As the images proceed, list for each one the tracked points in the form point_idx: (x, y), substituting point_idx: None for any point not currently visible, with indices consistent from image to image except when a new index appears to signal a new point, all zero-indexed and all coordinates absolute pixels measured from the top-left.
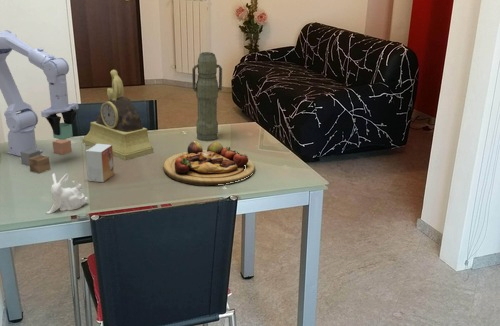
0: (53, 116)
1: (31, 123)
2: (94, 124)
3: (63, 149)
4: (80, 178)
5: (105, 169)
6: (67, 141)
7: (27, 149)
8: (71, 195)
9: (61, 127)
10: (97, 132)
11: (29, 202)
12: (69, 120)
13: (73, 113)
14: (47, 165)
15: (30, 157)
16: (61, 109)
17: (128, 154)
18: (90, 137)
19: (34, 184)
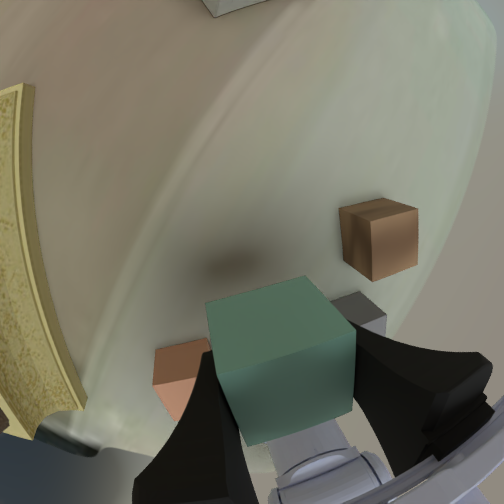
0: (468, 409)
1: (308, 488)
2: (17, 416)
3: (198, 354)
4: (310, 28)
5: None
6: (171, 382)
7: None
8: None
9: (355, 330)
10: (19, 373)
11: (465, 45)
12: (225, 428)
13: (194, 489)
14: (360, 210)
15: (374, 308)
16: (472, 487)
17: (7, 88)
18: (55, 385)
19: (432, 121)
